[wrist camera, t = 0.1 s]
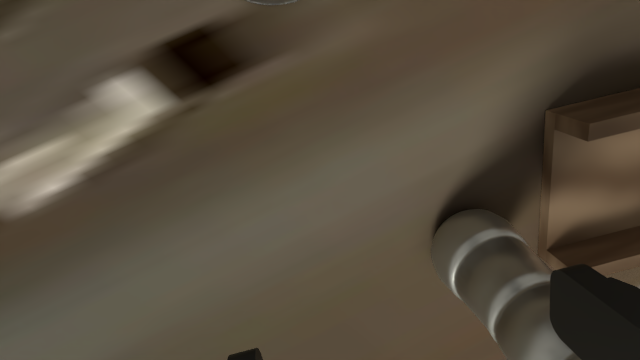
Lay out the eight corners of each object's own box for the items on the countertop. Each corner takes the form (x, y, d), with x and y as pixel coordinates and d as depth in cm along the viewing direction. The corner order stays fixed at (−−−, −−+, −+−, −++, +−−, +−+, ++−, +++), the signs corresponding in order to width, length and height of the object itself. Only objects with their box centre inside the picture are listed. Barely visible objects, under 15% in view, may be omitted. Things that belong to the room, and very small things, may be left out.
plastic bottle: (511, 210, 30) (890, 491, 12) (472, 277, 33) (745, 602, 14) (444, 189, 29) (767, 481, 10) (408, 262, 31) (623, 608, 13)
